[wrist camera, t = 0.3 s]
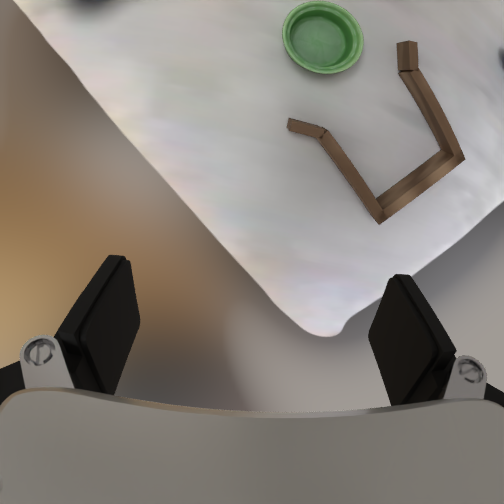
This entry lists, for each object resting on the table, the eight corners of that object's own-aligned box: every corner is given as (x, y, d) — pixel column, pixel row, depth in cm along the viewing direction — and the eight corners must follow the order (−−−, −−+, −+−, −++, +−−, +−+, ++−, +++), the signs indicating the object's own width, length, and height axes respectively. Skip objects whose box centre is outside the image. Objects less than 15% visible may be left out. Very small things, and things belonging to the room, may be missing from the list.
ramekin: (362, 29, 29) (374, 23, 25) (336, 87, 33) (346, 87, 29) (295, -2, 27) (300, -12, 23) (268, 58, 31) (269, 54, 27)
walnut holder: (401, 40, 29) (413, 37, 26) (460, 145, 35) (474, 151, 32) (282, 122, 35) (285, 125, 32) (359, 222, 42) (366, 233, 39)
